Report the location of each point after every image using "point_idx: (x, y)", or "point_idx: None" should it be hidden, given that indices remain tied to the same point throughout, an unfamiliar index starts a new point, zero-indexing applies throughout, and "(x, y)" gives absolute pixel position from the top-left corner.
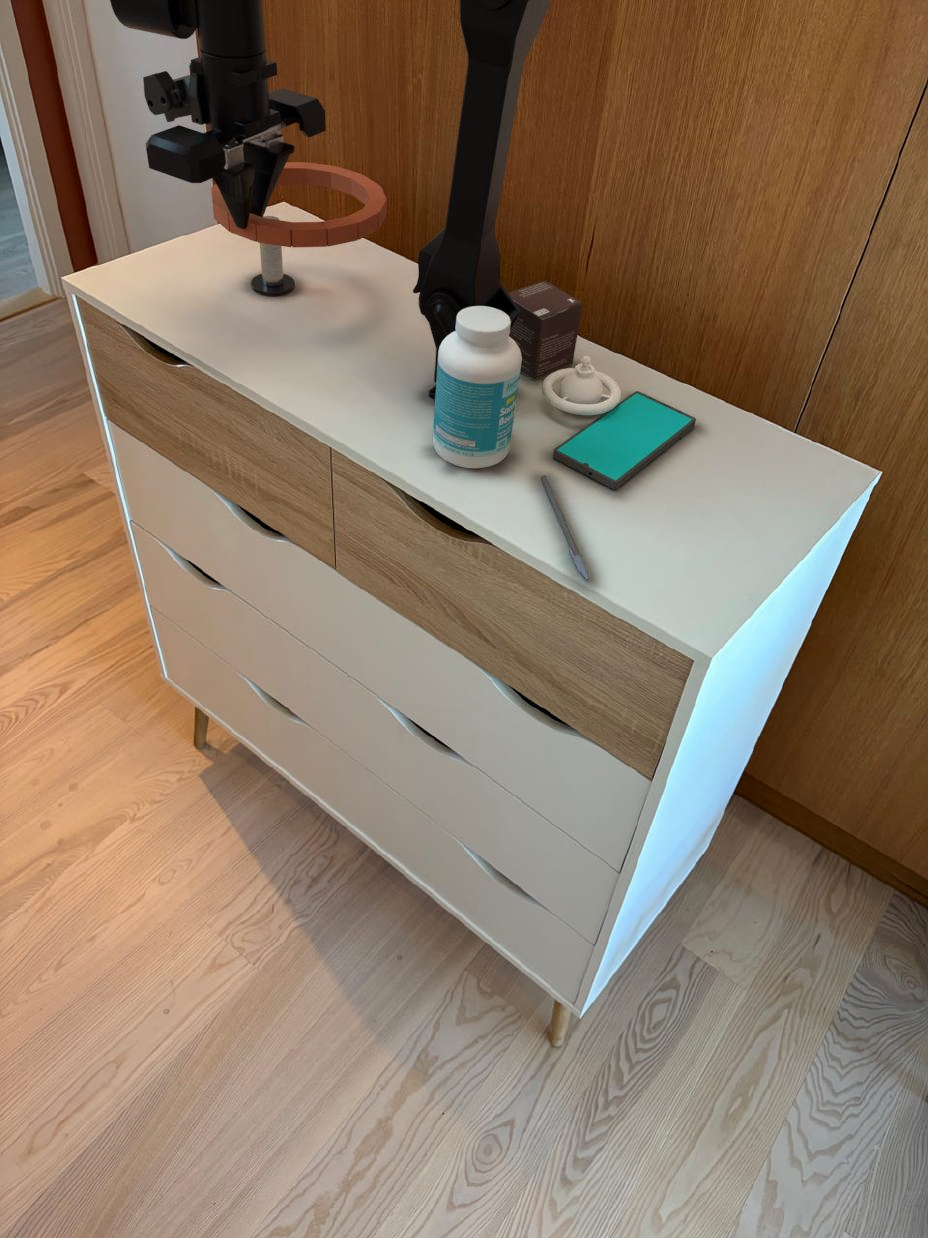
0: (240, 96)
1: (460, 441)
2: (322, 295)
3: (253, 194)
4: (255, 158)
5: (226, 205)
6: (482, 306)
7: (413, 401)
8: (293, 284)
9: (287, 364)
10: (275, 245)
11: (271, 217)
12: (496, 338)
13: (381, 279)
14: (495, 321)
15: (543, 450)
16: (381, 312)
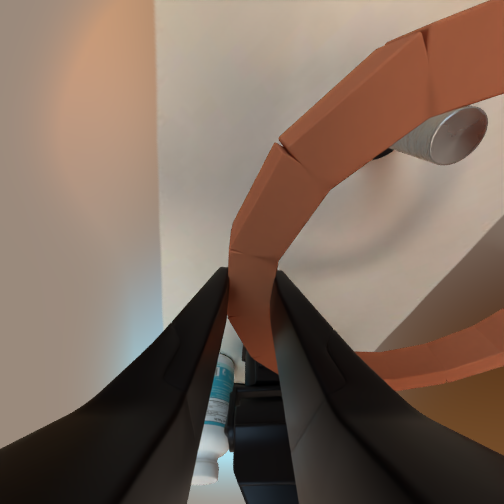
0: None
1: None
2: (371, 197)
3: (281, 332)
4: (323, 481)
5: (280, 209)
6: (212, 478)
7: (234, 330)
8: (381, 155)
9: (215, 246)
10: (405, 153)
11: (475, 133)
12: None
13: (433, 230)
14: (199, 482)
15: (236, 379)
16: (354, 263)
